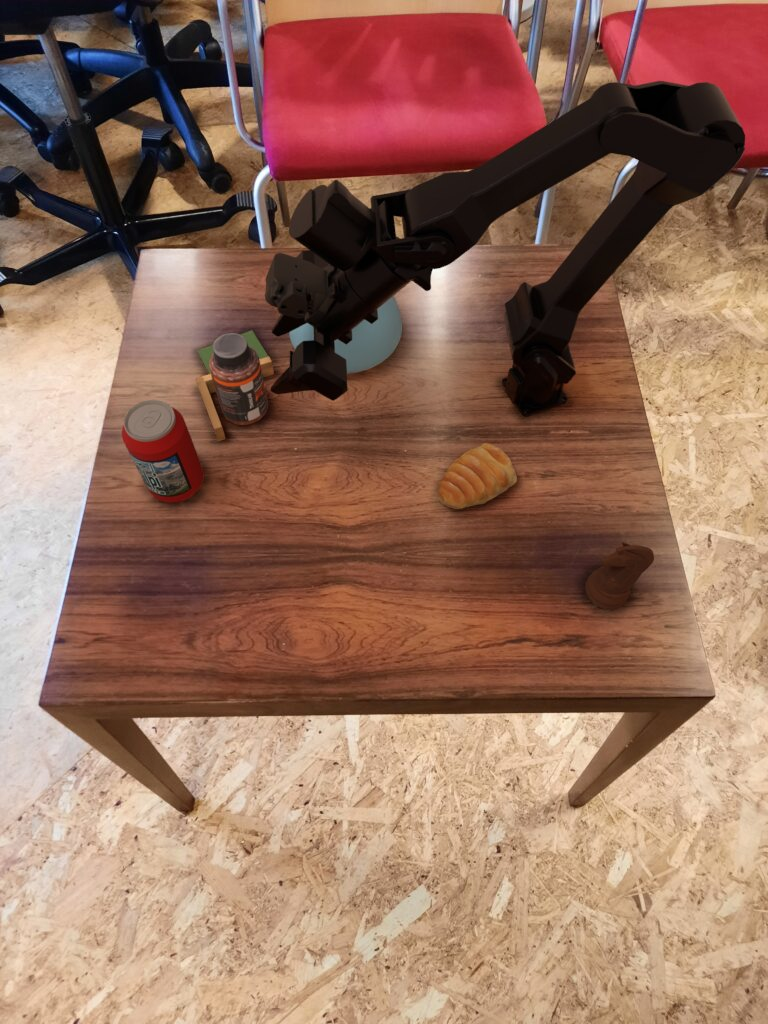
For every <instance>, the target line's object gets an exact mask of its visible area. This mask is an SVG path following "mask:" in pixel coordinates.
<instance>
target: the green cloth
mask: <svg viewBox="0 0 768 1024" xmlns="http://www.w3.org/2000/svg"><path fill="white" fill-rule="evenodd" d="M239 335H241V336H243V337H244V338H245V339H246V341H247V343H248V346H250V347H251V348H253V349H254V350H255V351H256V353H257V355H258V357H259V359H262V358H266V357H270V356H269V355H268V353H267V351H266V350H265V348H264V347H263V345H262V343H261V342H260V340H259V338H258V337H257V336H256V334H255V332H254V331H253V329H251V330H249V331H246V332H243V333H241V334H239ZM196 352H197V355H199V358H200V359H201V361H202V363H203V365H204V366H205V369H206V370H207V372H208V374H211V372H210V368H209V362H210V358H211V356H212V354H213V353H214V352H213V344H211V345H209V346H206V347H202V348H200V349H198V350H196Z"/></svg>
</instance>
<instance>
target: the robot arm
mask: <svg viewBox="0 0 768 1024" xmlns="http://www.w3.org/2000/svg"><path fill="white" fill-rule="evenodd" d="M745 145H746V134H745V132H744V128H743V126H742V125H741V123H740V121H739V118H737V116H736V114H735V112H734V110H733V108H732V106H731V104H730V103H729V101H728V99H727V97H726V96H725V94H724V92H723V90H722V89H721V88H720V87H719V86H718V85H717V84H714V83H711V82H707V81H705V82H696V83H693V84H690V85H687V84H682V83H676V82H671V81H665V80H656V81H651V82H647V83H642V84H636V85H635V84H627V83H623V82H616V81H614V82H613V81H612V82H607V83H605V84H602V85H600V86H599V87H598V88H596V90H594V91H593V93H592V95H591V96H590V97H589V98H588V99H586V100H585V101H583V102H582V103H580V104H578V105H577V106H575V107H573V108H572V109H570V110H568V111H566V112H565V113H564V114H562V115H560V116H559V117H557V118H555V119H554V120H552V121H551V122H549V123H547V124H546V125H543V126H542V127H541V128H539V129H538V130H536V131H534V132H533V133H531V134H530V135H528V136H526V137H525V138H523V139H521V140H519V141H518V142H516V143H515V144H513V145H511V146H510V147H508V148H507V149H504V150H503V151H501V152H500V153H498V154H496V155H495V156H493V157H492V158H490V159H489V160H487V161H486V162H484V163H483V164H481V165H478V166H477V167H474V168H471V169H469V170H467V171H455V172H444V173H442V174H439V175H437V176H435V177H432V178H430V179H428V180H426V181H424V182H421V183H419V184H417V185H414V186H413V187H412V188H410V189H405V190H398V191H393V192H387V193H382V194H375V195H372V196H371V197H370V198H369V199H370V207H368V205H366V204H365V203H363V202H362V201H361V200H360V199H359V198H357V197H356V196H355V195H354V194H353V193H352V192H350V190H349V189H348V187H347V186H346V185H344V184H343V183H342V182H341V181H339V180H338V179H334V180H333V181H332V182H330V184H329V185H325V184H320V185H317V186H316V187H314V188H310V189H309V190H307V192H306V193H305V194H304V195H303V196H302V198H301V199H300V200H299V202H298V203H297V205H296V207H295V208H294V211H293V213H292V215H291V217H290V221H289V225H288V234H289V236H290V237H291V238H292V239H293V240H295V241H296V242H298V243H299V244H300V245H302V246H303V247H305V248H306V249H307V250H302V251H301V252H300V253H299V254H298V255H297V256H293V255H289V254H286V253H282V252H278V253H277V252H276V253H275V254H274V256H273V259H272V261H271V263H270V266H269V269H268V270H267V271H268V272H267V274H266V277H265V293H264V299H265V301H266V303H267V304H269V305H270V306H271V307H274V308H276V310H277V312H278V313H279V316H278V318H277V320H276V322H275V323H274V325H273V327H272V329H271V334H273V335H274V336H275V337H281V336H284V335H286V334H289V332H291V331H293V330H295V329H297V328H298V327H300V326H302V325H304V324H306V323H308V324H310V325H311V326H313V327H314V340H311V341H302V342H301V343H300V344H299V345H298V346H297V347H296V349H294V351H292V350H290V351H289V366H288V367H287V368H286V369H285V370H284V371H283V372H282V374H280V376H279V377H277V379H276V380H275V381H274V383H272V385H271V386H270V388H269V391H270V392H271V393H273V394H274V395H284V394H291V393H300V392H308V391H310V392H311V391H314V392H316V393H318V394H320V395H321V396H323V397H325V398H327V399H328V400H330V401H332V402H333V401H336V400H338V399H339V398H341V397H342V396H343V395H344V394H345V393H347V392H348V390H349V387H348V386H349V385H348V374H347V364H346V359H345V358H343V357H341V356H340V355H338V354H337V353H335V340H337V339H338V340H340V341H341V342H343V343H344V344H346V345H347V344H348V343H349V342H350V341H352V329H354V328H355V327H356V326H357V325H359V324H360V323H361V322H362V321H363V320H366V321H368V322H369V323H371V324H373V323H374V322H375V321H376V320H378V311H377V309H378V308H379V307H381V306H382V305H383V304H384V303H385V302H387V301H388V300H389V299H390V298H392V297H393V296H394V297H395V295H396V294H398V293H399V292H400V291H401V290H402V289H404V288H405V287H406V286H407V285H409V284H410V283H411V282H412V283H415V284H416V285H417V286H419V287H420V288H421V289H423V290H424V291H426V292H429V291H430V290H431V289H432V282H431V281H432V273H433V270H439V269H441V268H445V267H447V266H449V265H451V264H453V263H454V262H455V261H456V260H458V259H459V258H460V257H462V256H463V255H465V254H466V253H467V252H468V251H469V250H471V249H472V248H473V247H475V246H476V245H477V244H478V243H479V241H480V240H481V238H482V237H483V236H484V234H485V233H486V231H487V230H488V228H489V227H490V226H491V225H492V224H493V223H494V222H496V221H497V220H498V219H499V218H501V217H503V216H504V215H505V214H507V213H509V212H511V211H513V210H514V209H516V208H518V207H520V206H521V205H523V204H525V203H526V202H528V201H530V200H532V199H534V198H535V197H537V196H538V195H541V194H542V193H544V192H546V191H547V190H550V189H551V188H552V187H554V186H557V185H558V184H559V183H562V182H563V181H565V180H566V179H569V178H570V177H572V176H574V175H575V174H577V173H579V172H580V171H582V170H584V169H587V168H588V167H589V166H592V165H593V164H595V163H596V162H598V161H600V160H601V159H604V158H605V157H607V156H609V155H611V154H614V155H621V156H625V157H631V158H633V159H635V160H637V164H636V167H635V169H634V171H633V173H632V175H631V176H630V177H629V178H628V180H627V181H626V182H625V184H624V185H623V186H622V188H620V190H619V191H618V192H617V194H616V195H615V196H614V197H613V199H612V200H611V201H610V202H609V204H608V205H607V206H606V207H605V208H604V209H603V211H602V212H601V214H600V215H599V216H598V217H597V219H596V220H595V221H594V223H593V224H592V225H591V226H590V227H589V229H588V230H587V231H586V232H585V234H584V235H583V236H582V238H581V239H580V240H579V241H578V242H577V244H576V245H575V246H574V248H572V250H571V251H570V253H569V254H568V255H567V256H566V258H565V259H564V260H563V261H562V263H561V264H560V265H559V266H558V267H557V268H556V270H555V271H554V273H553V274H552V275H551V276H550V277H549V278H548V279H547V280H546V281H544V282H541V283H537V284H535V285H531V284H530V283H527V282H526V281H525V282H524V281H523V282H522V283H521V284H520V285H519V286H518V288H517V290H516V292H515V294H514V295H513V296H512V297H511V298H510V299H509V300H508V301H505V303H504V309H505V310H504V314H503V322H504V326H505V332H506V337H507V341H508V346H509V351H510V355H511V359H512V364H511V367H510V368H509V369H508V372H507V376H506V377H503V378H502V379H501V381H500V383H501V385H502V387H503V388H504V392H505V393H506V395H507V397H508V399H510V401H511V403H512V404H513V405H515V407H516V408H517V410H518V411H519V413H520V415H521V416H522V417H524V418H525V417H530V416H533V415H536V414H539V413H541V412H545V411H547V410H550V409H553V408H556V407H559V406H562V405H565V404H567V403H568V401H569V398H568V396H567V394H566V393H565V392H564V390H563V387H564V385H567V384H569V383H570V382H571V380H572V379H574V377H575V375H576V374H577V371H576V367H575V362H574V360H573V355H572V351H571V348H570V343H571V342H572V339H573V335H574V332H575V329H576V325H577V322H578V320H579V316H580V313H581V312H582V310H583V309H584V307H586V305H587V304H588V303H589V302H590V301H591V300H592V298H594V297H595V295H596V294H597V293H598V292H599V291H600V289H601V288H602V287H603V286H604V285H605V284H606V283H607V282H608V280H609V279H610V278H611V277H612V276H613V275H614V274H615V272H616V271H617V270H618V269H619V268H620V267H621V266H622V265H623V263H624V262H625V261H626V260H627V259H628V258H629V256H630V255H631V254H632V253H633V252H634V251H635V250H636V249H637V248H638V246H639V245H640V244H641V243H642V242H643V241H644V240H645V238H646V237H647V236H648V235H649V234H650V233H651V231H652V230H653V229H654V228H655V227H656V226H657V225H658V224H659V222H660V221H662V219H663V218H664V217H665V216H666V214H668V212H669V211H670V210H671V209H672V208H673V207H675V206H679V205H681V204H683V203H686V202H688V201H691V200H694V199H696V198H699V197H701V196H703V195H704V194H706V193H707V191H709V190H710V189H711V188H712V187H713V186H715V185H716V184H717V183H718V182H719V181H720V180H721V179H723V177H725V176H726V175H727V174H728V173H729V172H730V171H732V170H733V169H734V167H736V165H737V164H738V163H739V161H740V160H741V159H742V158H743V155H744V153H745V151H746V148H745ZM395 217H397V218H401V223H402V233H403V237H402V238H401V237H398V236H397V232H396V223H395Z"/></svg>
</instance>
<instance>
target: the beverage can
mask: <svg viewBox="0 0 768 1024" xmlns="http://www.w3.org/2000/svg"><path fill="white" fill-rule="evenodd" d="M121 438H122V441H123V443H124V445H125V447H126V449H127V451H128V454H129V455H130V458H131V461H132V462H133V463H134V466H135V467H136V469H137V471H138V473H139V475H140V477H141V479H142V480H143V483H144V485H145V487H146V488H147V490H148V492H149V494H150V495H151V496H152V497H154V499H157V500H158V501H160V502H165V503H179V502H182V501H184V500H187V499H190V498H191V497H192V496H193V495H195V494H196V493H197V492H198V491H199V490H200V488H201V486H202V484H203V482H204V470H203V467H202V464H201V461H200V458H199V455H198V452H197V450H196V447H195V444H194V442H193V439H192V436H191V433H190V430H189V428H188V426H187V423H186V421H185V419H184V417H183V414H182V413H181V412H179V410H177V409H176V408H175V407H172V406H171V405H170V404H168V403H167V402H166V401H164V400H161V399H146V400H143V401H140V402H138V403H136V404H134V405H133V406H131V407H130V408H129V409H128V411H127V413H125V416H124V417H123V425H122V429H121Z"/></svg>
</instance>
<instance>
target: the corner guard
mask: <svg viewBox="0 0 768 1024" xmlns="http://www.w3.org/2000/svg"><path fill="white" fill-rule="evenodd" d="M259 360H260V365H261V370H262V375H263V379H264V378H267V377H270V376H274V375H275V372H274V366H273V361H272V359H271V357H270V356H269V357H266V358H262V359H259ZM195 381H196V384H197V387H198V390H199V393H200V396H201V399H202V401H203V405H204V407H205V409H206V412H207V415H208V418H209V421H210V423H211V426H212V428H213V432H214V434H215V437H216V439H217V442H221V441H224V440H226V439H227V438H226V434H225V431H224V428H223V424H222V422H221V420H220V417H219V414H218V412H217V409H216V406H215V404H214V402H213V399H212V395H211V394H215V393H216V390H215V386H214V383H213V379H212V376H211V374H209V373H208V374H205V375H201V376H199V377H196V378H195Z"/></svg>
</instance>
